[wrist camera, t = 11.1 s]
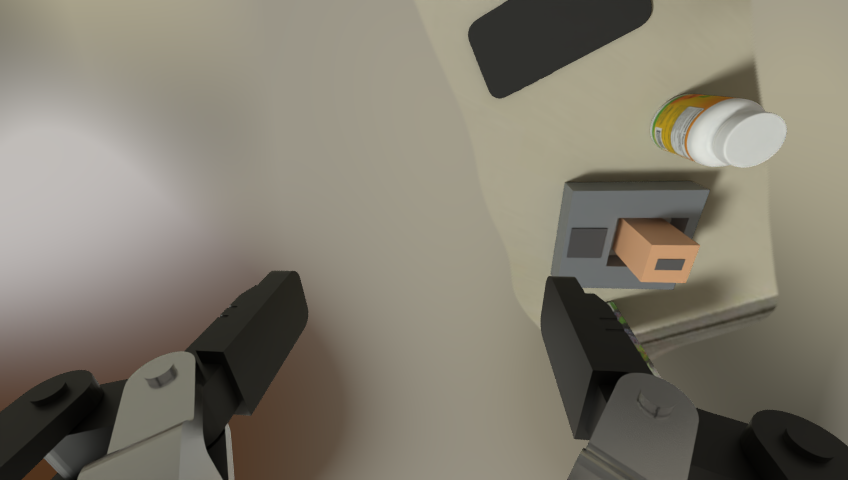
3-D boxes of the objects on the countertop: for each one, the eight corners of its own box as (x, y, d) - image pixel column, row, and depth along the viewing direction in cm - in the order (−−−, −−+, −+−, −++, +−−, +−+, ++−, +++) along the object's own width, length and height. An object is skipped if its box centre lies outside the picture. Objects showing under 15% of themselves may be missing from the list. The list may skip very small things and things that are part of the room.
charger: (620, 216, 37) (652, 245, 31) (659, 216, 37) (700, 245, 30) (611, 248, 39) (641, 282, 33) (649, 249, 39) (686, 283, 32)
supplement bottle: (721, 104, 32) (819, 116, 23) (684, 157, 34) (759, 186, 25) (671, 85, 31) (751, 90, 23) (637, 140, 34) (697, 163, 25)
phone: (654, 20, 29) (494, 103, 33) (649, 21, 30) (493, 103, 34) (636, -78, 26) (463, 26, 30) (631, -74, 27) (463, 27, 31)
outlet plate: (564, 182, 36) (573, 191, 34) (691, 180, 35) (711, 190, 32) (550, 273, 42) (557, 288, 39) (659, 275, 40) (674, 290, 38)
